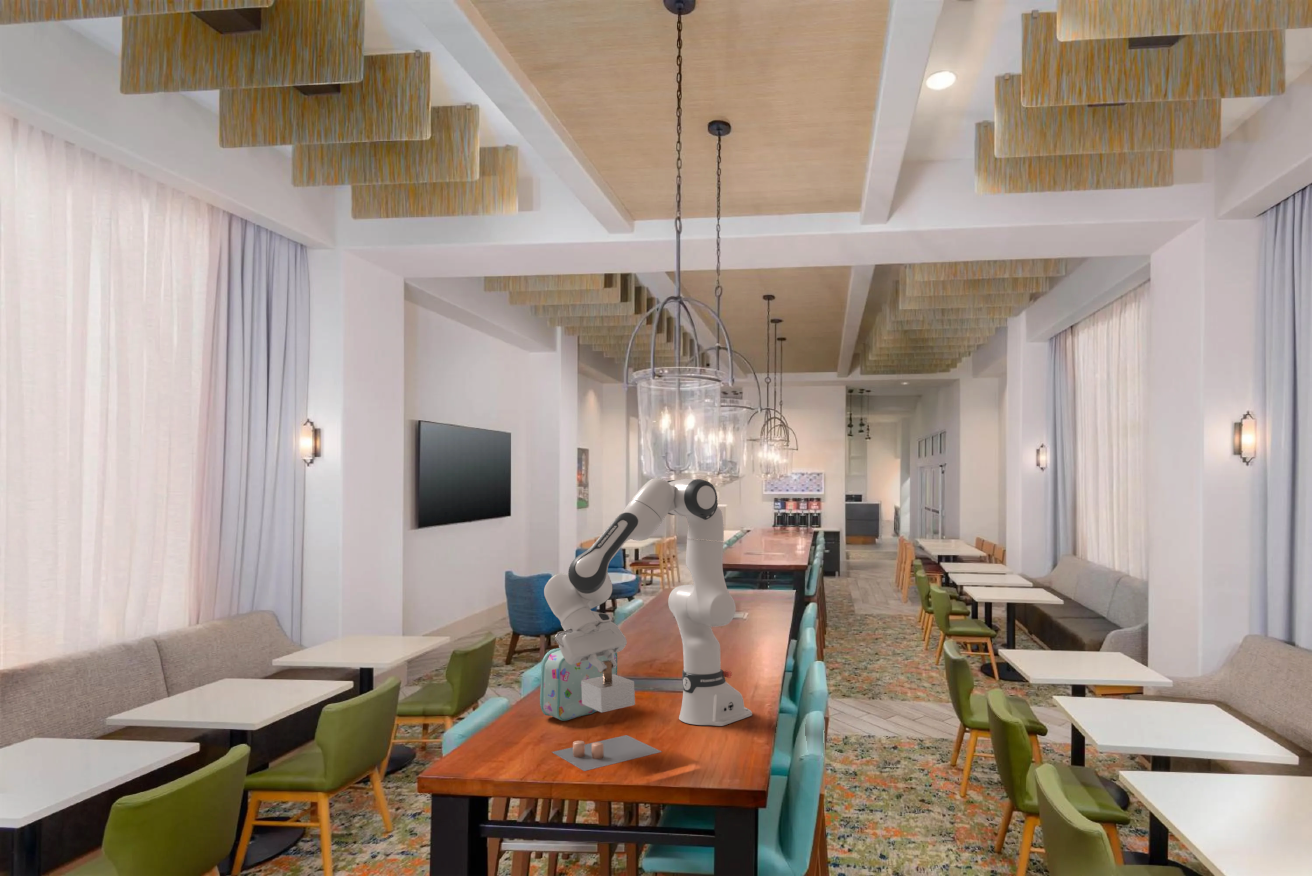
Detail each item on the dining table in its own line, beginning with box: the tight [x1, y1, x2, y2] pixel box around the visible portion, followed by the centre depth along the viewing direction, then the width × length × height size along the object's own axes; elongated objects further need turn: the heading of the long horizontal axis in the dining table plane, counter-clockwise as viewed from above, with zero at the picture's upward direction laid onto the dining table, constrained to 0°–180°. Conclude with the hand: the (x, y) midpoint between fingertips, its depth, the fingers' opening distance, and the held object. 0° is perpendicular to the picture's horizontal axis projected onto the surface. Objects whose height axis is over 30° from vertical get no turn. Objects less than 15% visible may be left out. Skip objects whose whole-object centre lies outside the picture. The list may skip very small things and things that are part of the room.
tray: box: [551, 734, 663, 772], centre depth 207 cm, size 23×17×4 cm
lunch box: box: [539, 647, 618, 721], centre depth 248 cm, size 27×10×21 cm, turn 141°
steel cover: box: [581, 660, 636, 713], centre depth 209 cm, size 10×10×11 cm
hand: (609, 668), depth 208 cm, fingers closed on steel cover, 2 cm apart
